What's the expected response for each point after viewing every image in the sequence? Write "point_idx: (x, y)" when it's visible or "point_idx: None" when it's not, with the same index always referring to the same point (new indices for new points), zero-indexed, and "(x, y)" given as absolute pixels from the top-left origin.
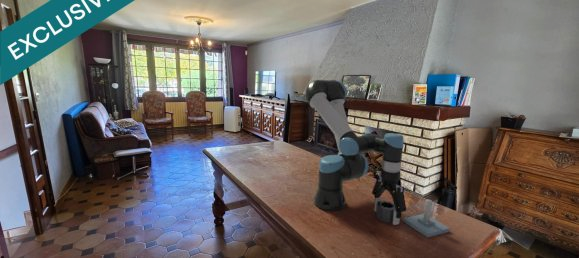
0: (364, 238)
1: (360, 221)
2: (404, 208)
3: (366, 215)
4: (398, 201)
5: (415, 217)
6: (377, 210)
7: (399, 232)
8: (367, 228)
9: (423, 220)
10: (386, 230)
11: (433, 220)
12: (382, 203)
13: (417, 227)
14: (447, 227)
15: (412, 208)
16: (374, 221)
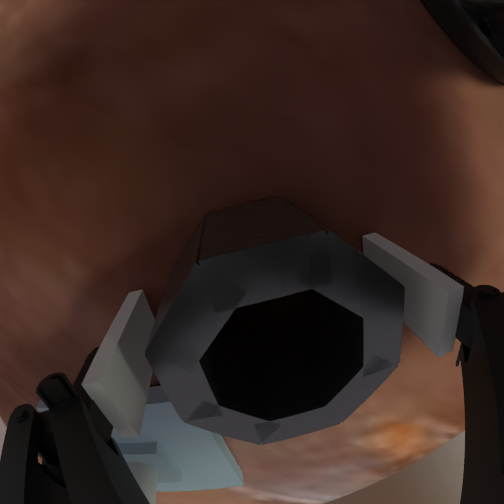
0: (29, 12)
1: (233, 23)
2: (46, 462)
3: (329, 124)
4: (20, 501)
5: (202, 450)
6: (286, 213)
7: (58, 283)
8: (117, 45)
9: (139, 463)
10: (73, 195)
11: (174, 485)
12: (358, 329)
13: None
14: None
15: (331, 455)
16: (215, 147)
